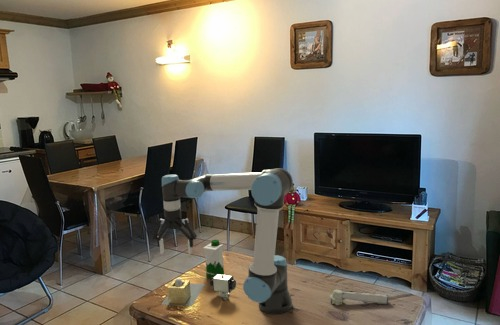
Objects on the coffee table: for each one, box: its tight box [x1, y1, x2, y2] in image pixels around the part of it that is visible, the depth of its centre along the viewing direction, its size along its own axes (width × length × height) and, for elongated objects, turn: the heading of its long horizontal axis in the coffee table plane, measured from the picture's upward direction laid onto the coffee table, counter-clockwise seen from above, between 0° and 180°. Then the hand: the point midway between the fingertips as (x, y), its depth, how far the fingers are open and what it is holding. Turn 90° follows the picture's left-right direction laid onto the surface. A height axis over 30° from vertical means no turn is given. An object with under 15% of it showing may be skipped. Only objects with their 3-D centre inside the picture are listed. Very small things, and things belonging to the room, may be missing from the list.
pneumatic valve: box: [209, 273, 237, 301], centre depth 191 cm, size 6×12×12 cm, turn 68°
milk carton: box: [202, 239, 225, 279], centre depth 212 cm, size 9×9×20 cm
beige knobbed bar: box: [329, 289, 389, 306], centre depth 181 cm, size 5×7×25 cm
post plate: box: [160, 278, 206, 307], centre depth 194 cm, size 15×22×12 cm
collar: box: [167, 279, 191, 304], centre depth 188 cm, size 8×8×8 cm
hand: (176, 253), depth 185 cm, fingers open, 13 cm apart
